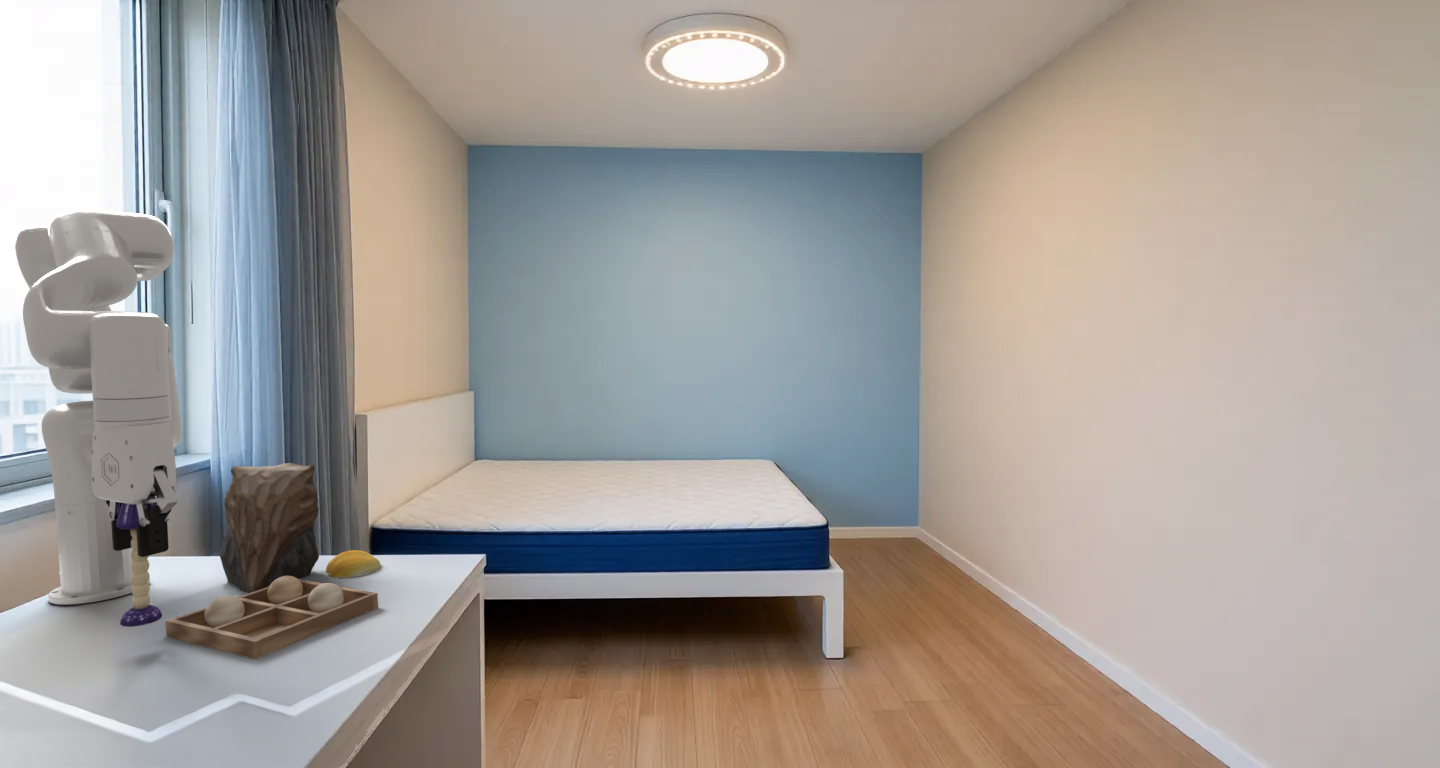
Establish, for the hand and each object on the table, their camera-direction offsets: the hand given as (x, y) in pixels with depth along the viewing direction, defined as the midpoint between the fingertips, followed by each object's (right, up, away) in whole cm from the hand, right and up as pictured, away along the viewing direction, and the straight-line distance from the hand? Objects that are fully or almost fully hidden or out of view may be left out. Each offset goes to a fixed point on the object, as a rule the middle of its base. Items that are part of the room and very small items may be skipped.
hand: (140, 549), depth 91 cm
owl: (-2, -13, +27) cm, 30 cm away
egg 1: (+6, -13, +7) cm, 16 cm away
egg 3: (+17, -12, +12) cm, 24 cm away
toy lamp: (0, -10, +1) cm, 10 cm away
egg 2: (+9, -12, +15) cm, 22 cm away
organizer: (+12, -13, +10) cm, 20 cm away
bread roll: (+10, -12, +33) cm, 37 cm away
